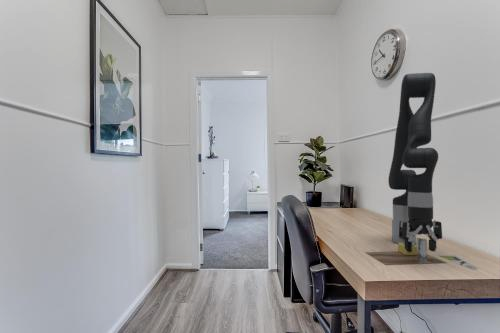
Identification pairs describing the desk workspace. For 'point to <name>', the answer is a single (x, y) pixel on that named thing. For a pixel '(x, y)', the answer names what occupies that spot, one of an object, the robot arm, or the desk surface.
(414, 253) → the yellow square block
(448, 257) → the handheld gaming device
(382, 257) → the board
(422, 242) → the metal cylinder
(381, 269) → the desk surface
